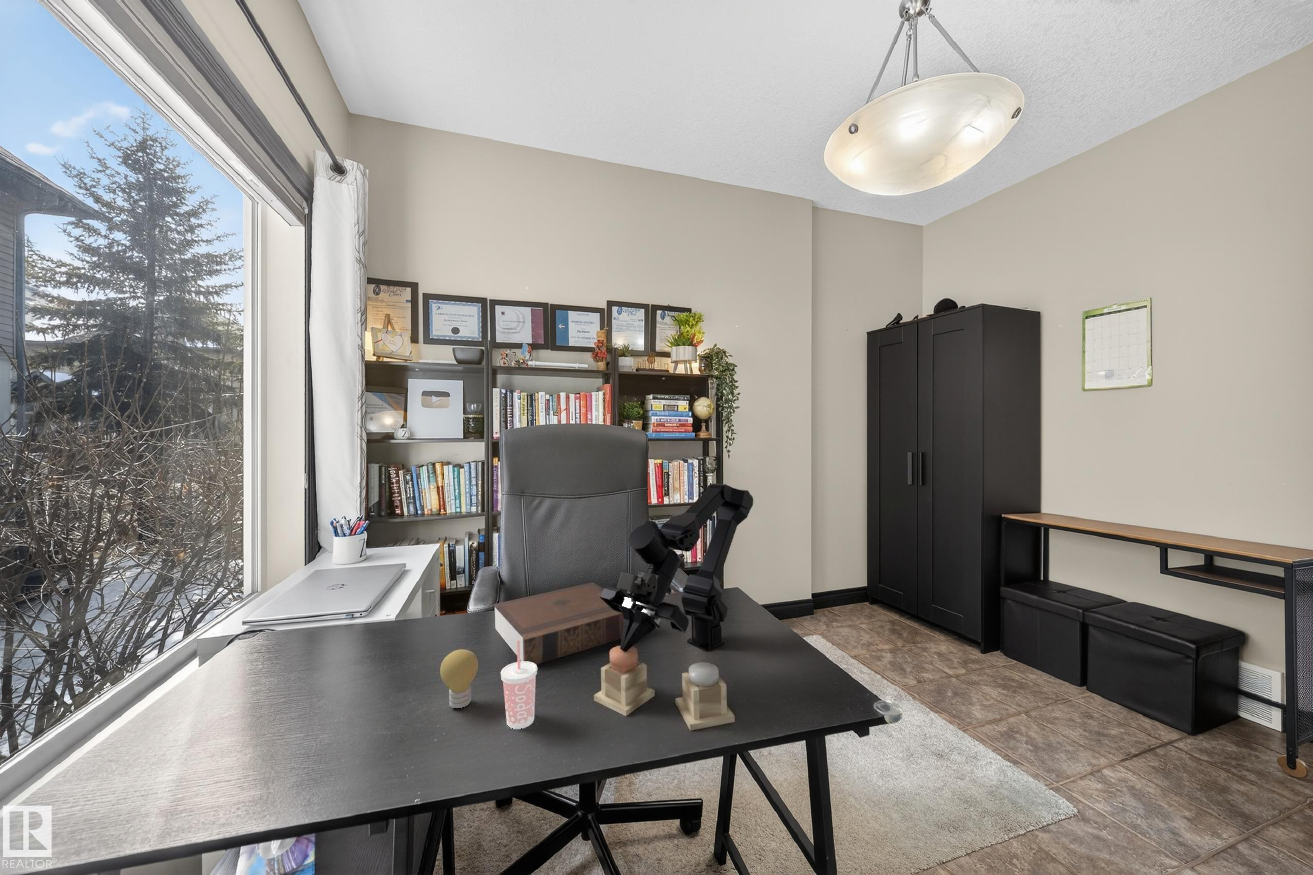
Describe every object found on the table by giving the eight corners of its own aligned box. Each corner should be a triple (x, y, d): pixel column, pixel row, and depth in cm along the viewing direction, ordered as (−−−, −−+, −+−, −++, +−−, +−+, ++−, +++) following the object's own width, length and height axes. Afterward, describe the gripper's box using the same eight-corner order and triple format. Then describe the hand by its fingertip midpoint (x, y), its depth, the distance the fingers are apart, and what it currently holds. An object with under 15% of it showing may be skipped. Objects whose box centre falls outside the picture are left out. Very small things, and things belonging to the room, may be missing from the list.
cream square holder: (623, 681, 96) (622, 651, 95) (654, 695, 91) (654, 664, 90) (593, 700, 89) (593, 668, 89) (626, 716, 84) (625, 682, 84)
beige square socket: (675, 703, 88) (675, 671, 88) (716, 696, 90) (716, 664, 90) (690, 730, 80) (689, 695, 80) (734, 721, 82) (734, 687, 82)
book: (638, 635, 117) (637, 608, 117) (525, 670, 102) (524, 639, 102) (593, 604, 138) (592, 582, 137) (493, 630, 122) (492, 604, 122)
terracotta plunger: (623, 674, 93) (622, 642, 93) (643, 683, 90) (643, 650, 90) (604, 686, 89) (603, 653, 89) (625, 696, 86) (624, 661, 86)
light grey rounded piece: (685, 699, 87) (684, 664, 87) (712, 694, 88) (711, 660, 88) (695, 716, 82) (694, 679, 82) (723, 710, 83) (723, 674, 83)
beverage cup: (499, 734, 80) (496, 651, 80) (504, 712, 86) (502, 635, 86) (537, 729, 81) (534, 647, 81) (540, 708, 87) (538, 632, 87)
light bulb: (486, 698, 91) (484, 646, 90) (462, 718, 84) (460, 662, 84) (458, 692, 93) (457, 641, 92) (433, 711, 87) (431, 657, 86)
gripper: (605, 547, 99) (564, 618, 91) (678, 562, 87) (640, 645, 79) (631, 575, 105) (596, 644, 97) (703, 593, 94) (670, 672, 85)
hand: (622, 650), depth 89 cm, fingers closed, pressing on terracotta plunger
